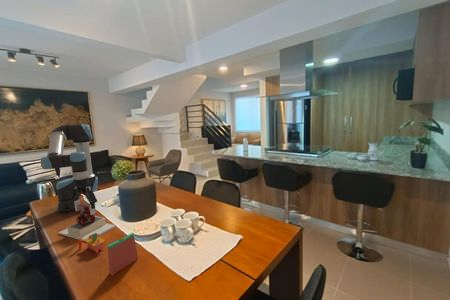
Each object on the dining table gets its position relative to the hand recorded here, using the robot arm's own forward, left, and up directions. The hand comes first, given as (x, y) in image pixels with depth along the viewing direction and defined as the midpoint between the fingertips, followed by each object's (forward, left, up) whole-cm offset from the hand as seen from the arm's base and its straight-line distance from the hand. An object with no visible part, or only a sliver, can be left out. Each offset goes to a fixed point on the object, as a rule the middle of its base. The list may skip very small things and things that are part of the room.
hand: (85, 212), depth 128 cm
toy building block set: (+13, +33, -12) cm, 37 cm away
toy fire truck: (0, 0, -7) cm, 7 cm away
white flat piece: (0, 0, -12) cm, 12 cm away
